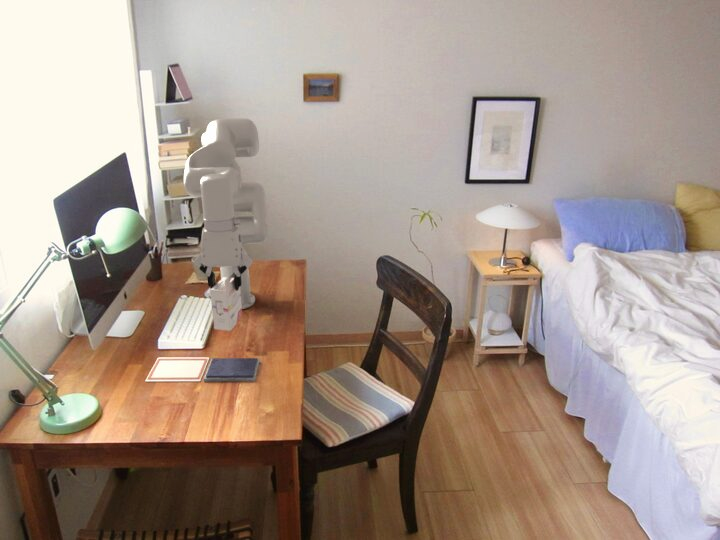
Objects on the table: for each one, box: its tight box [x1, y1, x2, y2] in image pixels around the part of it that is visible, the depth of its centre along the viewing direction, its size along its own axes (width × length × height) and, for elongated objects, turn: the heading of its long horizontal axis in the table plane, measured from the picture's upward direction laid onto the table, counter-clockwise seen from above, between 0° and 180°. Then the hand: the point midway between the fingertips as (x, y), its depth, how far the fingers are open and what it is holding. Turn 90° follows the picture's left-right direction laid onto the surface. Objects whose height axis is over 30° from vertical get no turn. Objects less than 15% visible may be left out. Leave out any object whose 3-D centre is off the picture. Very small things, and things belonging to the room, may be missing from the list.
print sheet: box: [144, 356, 210, 383], centre depth 160 cm, size 12×15×1 cm
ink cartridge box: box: [209, 272, 243, 331], centre depth 151 cm, size 9×5×15 cm, turn 169°
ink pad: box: [203, 357, 261, 383], centre depth 160 cm, size 10×14×2 cm
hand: (225, 287), depth 150 cm, fingers closed on ink cartridge box, 5 cm apart
